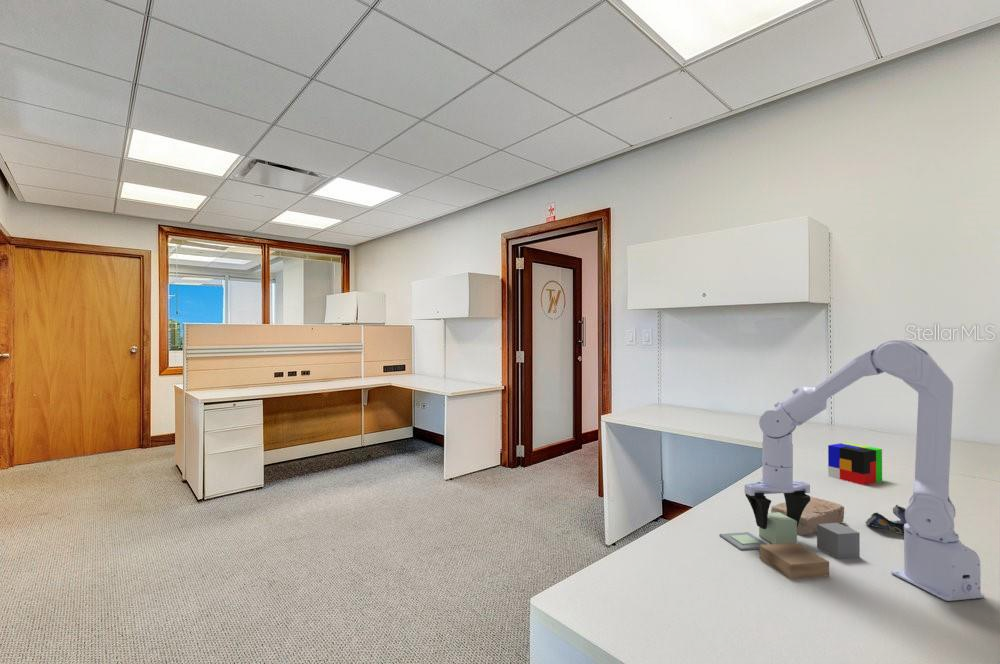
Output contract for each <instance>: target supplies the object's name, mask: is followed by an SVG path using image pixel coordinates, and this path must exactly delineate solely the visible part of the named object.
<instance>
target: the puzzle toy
mask: <svg viewBox="0 0 1000 664" xmlns="http://www.w3.org/2000/svg"><path fill="white" fill-rule="evenodd" d="M827 448H828V449H827V450H828V451H827V452H828V453H827V459H828V464H827V465H828V466H827V467H828V468H827V469H828V471H827V472H828V473H827V474H828V477H831V478H834V479H838V480H843V481H846V482H849V483H850V482H851V483H854V484H857V485H861V486H866V485H871V484H875V483H880V482H883V449H882V448H878V447H874V446H873V447H872V446H868V445H863V444H857V443H851V442H841V443H834V444H828V445H827Z"/></svg>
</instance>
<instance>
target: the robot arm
mask: <svg viewBox="0 0 1000 664" xmlns="http://www.w3.org/2000/svg"><path fill="white" fill-rule="evenodd" d="M883 373H886V374H888V375H891V376H893V377H895V378H897V379H900V380H901V381H903V382H904V383H905V384H906V385H908V386H909V387H910V388H912V389H913V390H914V391H916V392H917V394H918V396H917V397H918V398H917V417H916V418H917V419H916V420H917V421H916V438H915V439H916V445H915V462H914V463H915V464H914V465H915V467H914V483H913V489H912V495H911V496H910V498H909V502H908V506H907V507H906V508H905V509H906V510H905V519H906V522H907V523H906V524H904V534H903V539H904V540H903V547H904V548H903V554H904V555H903V558H904V559H903V560H904V561H903V565H904V566H903V568H902V569H893V570H891V571H890V572H891V574H892V575H894V576H896V577H898V578H900V579H902V580H904V581H906V582H908V583H910V584H912V585H915V587H918V588H920V589H922V590H924V591H926V592H928V593H930V594H932V595H934V596H936V597H938V598H939V599H942V600H943V601H946V602H951V601H952V602H953V601H961V600H962V601H963V600H972V599H973V600H974V599H980V598H985V594H984V593H982V592H981V586H982V585H981V583H982V581H981V560H980V557H979V555H978V553H977V552H976V551H975V550H973V549H972V548H970V547H968V546H966V545H965V544H964V543H963V542H962V541H961V540H960V539H959V538H960V536H959V534H958V533H957V532H956V531H955V530H954V529H955V517H956V513H957V512H956V508H955V504H953V502H952V500H951V498H950V472H951V471H950V468H951V467H950V465H951V448H952V447H951V446H952V445H951V444H952V426H953V425H952V424H953V403H954V383H953V381H952V380H951V378H950V377H949V376H948V375H947V373H945V371H944V370H943V369H942V368H941V366H940V365H938V363H937V361H936V360H935V359H934V358H933V357H932V355H931V354H930V353H929V352H928V351H926V350H925V349H923V348H922V347H920V346H918V345H917V344H915V343H913V342H911V341H908V340H903V339H899V340H898V339H893V340H887V341H884V342H882V343H880V344H879V345H878V346H876V348H872V349H869V350H868V351H865V352H864V353H862V354H860V355H858V356H856V357H854V358H853V359H852V360H850V361H849V362H847V363H846V364H845V365H844V366H842V367H841V368H839V369H838V370H837V371H835V372H834V373H832V374H831V375H830V376H829V377H827V378H826V379H824V380H823V381H821V383H819V384H817V385H816V386H815V387H813V386H803V387H801V388H800V387H796V388H794V389H793V390H791V392H792V394H791V395H790V396H789V397H787V398H785V399H784V400H782V401H781V402H779V401H778V402H776V403H774V405H773V406H774V407H775V408H774V409H769V410H766V411H764V412H763V413H762V415H760V418H759V421H758V423H759V425H758V426H759V428H760V430H761V432H762V448H761V450H762V454H761V455H762V458H761V459H762V461H761V462H762V467H761V468H762V469H761V470H762V471H761V472H762V478H761V479H760V481H756V482H755V481H754V482H751V483H744V494H745V497H746V499H747V501H748V503H749V504H750V507H751V509H752V512H753V515H754V518H755V522H756V523H755V524H756V526H757V527H758V528H759V527H760V528H762V529H766V528H767V518H768V513H769V509H770V506H771V503H772V500H771V499H769V498H767V497H766V495H769V494H770V495H771V494H783V496H784V500H785V502H786V508H787V516H788V517H790V518H792V519H794V520H796V521H797V527H798V524H799V520H800V517H801V515H802V512H803V510H804V508H805V507H806V505H807V504H808V503H809V502H810V497H811V496H810V495H809V494H810V493H811V484H810V483H807V482H805V481H793V480H794V479H793V478H794V458H793V457H794V450H793V449H794V445H793V432H795V430H796V428H797V426H802V425H803V424H804V423H806V422H807V421H809V420H810V419H812V418H814V417H815V416H817V415H819V414H820V413H822V412H823V411H825V410H826V409H827V408H828V407H827V406H828V405H827V402H828V399H829V398H831V397H833V396H834V395H837V394H838V393H839V392H841V391H843V390H844V389H845V388H847V387H849V386H851V385H852V384H855V382H856V381H859V380H860V379H861V378H863V377H869V376H876V375H877V376H878V375H881V374H883Z"/></svg>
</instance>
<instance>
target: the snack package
mask: <svg viewBox="0 0 1000 664" xmlns="http://www.w3.org/2000/svg"><path fill="white" fill-rule="evenodd" d="M905 510H906V508H905V507H902V506H900V505H898V504H896V505H895V506H894V507H893V508H892V514H893V515H895V516H896V518H898V519H899V520H889V519H888V518H886V517H885V516H884V515H882V513H881V514H880V513H878V512H873V513H872V514H871V515H870V517H869V518H867V519H866V521H864V522H865V524H866V525H867V526H868V527H871V526H872V527H875V528H881V529H883V530H887V531H890V532H894V533H898V534H901V535H904V524H906V523H907V522H906V519H905Z"/></svg>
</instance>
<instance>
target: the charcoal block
mask: <svg viewBox="0 0 1000 664" xmlns="http://www.w3.org/2000/svg"><path fill="white" fill-rule="evenodd" d="M860 537H861V536H860V532H859V531H857V530H855V529H852V528H850V527H848V526H846V525H843V524H842V523H840V524H839V523H826V524H817V531H816V547H817V549H819V550H821V551H822V552H825V553H826V554H828V555H830V556H832V557H834V558H835V559H838V560H840V559H853V558H854V559H855V558H861V557H860V555H861V554H860V551H861V550H860V548H861V547H860V546H861V545H860V543H861V541H860Z"/></svg>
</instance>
